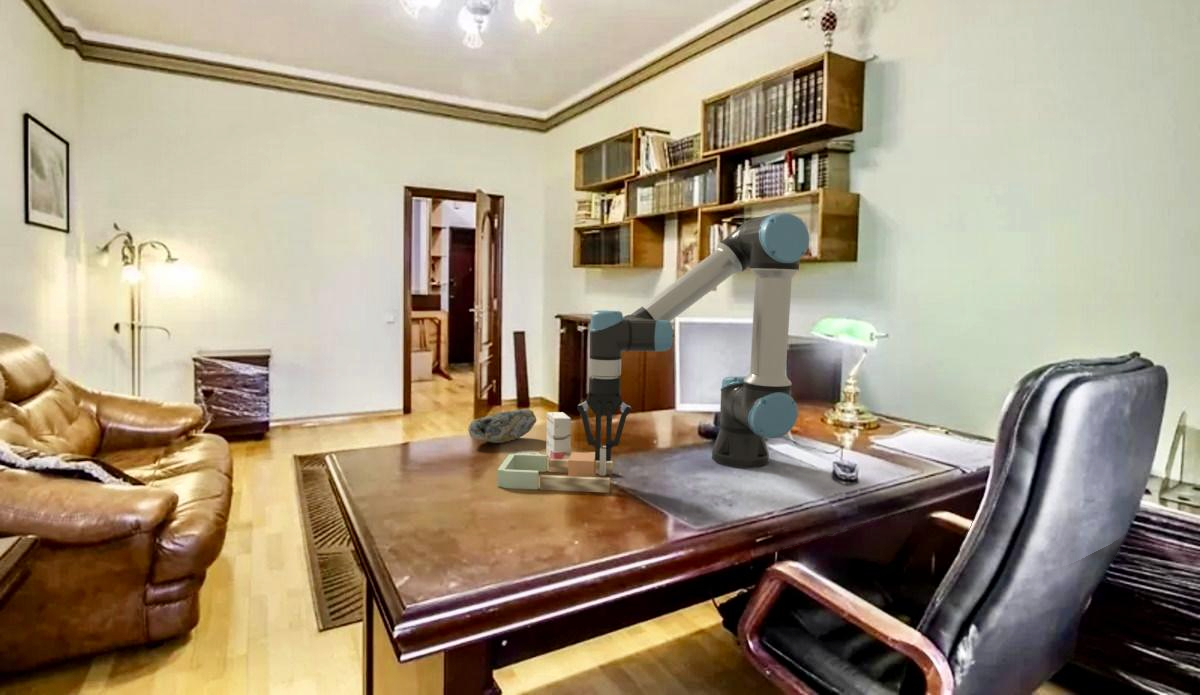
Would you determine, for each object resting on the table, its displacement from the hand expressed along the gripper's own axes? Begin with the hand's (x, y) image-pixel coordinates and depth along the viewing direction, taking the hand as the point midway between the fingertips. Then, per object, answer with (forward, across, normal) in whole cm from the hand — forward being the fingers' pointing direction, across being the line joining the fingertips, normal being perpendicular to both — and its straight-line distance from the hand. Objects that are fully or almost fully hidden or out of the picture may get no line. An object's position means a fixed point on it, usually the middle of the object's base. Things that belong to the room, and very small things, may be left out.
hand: (602, 473), depth 155 cm
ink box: (+2, +13, -19) cm, 23 cm away
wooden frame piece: (+2, +6, -4) cm, 7 cm away
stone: (+2, +31, -32) cm, 45 cm away
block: (+2, +5, 0) cm, 5 cm away
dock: (+2, +19, 0) cm, 19 cm away
